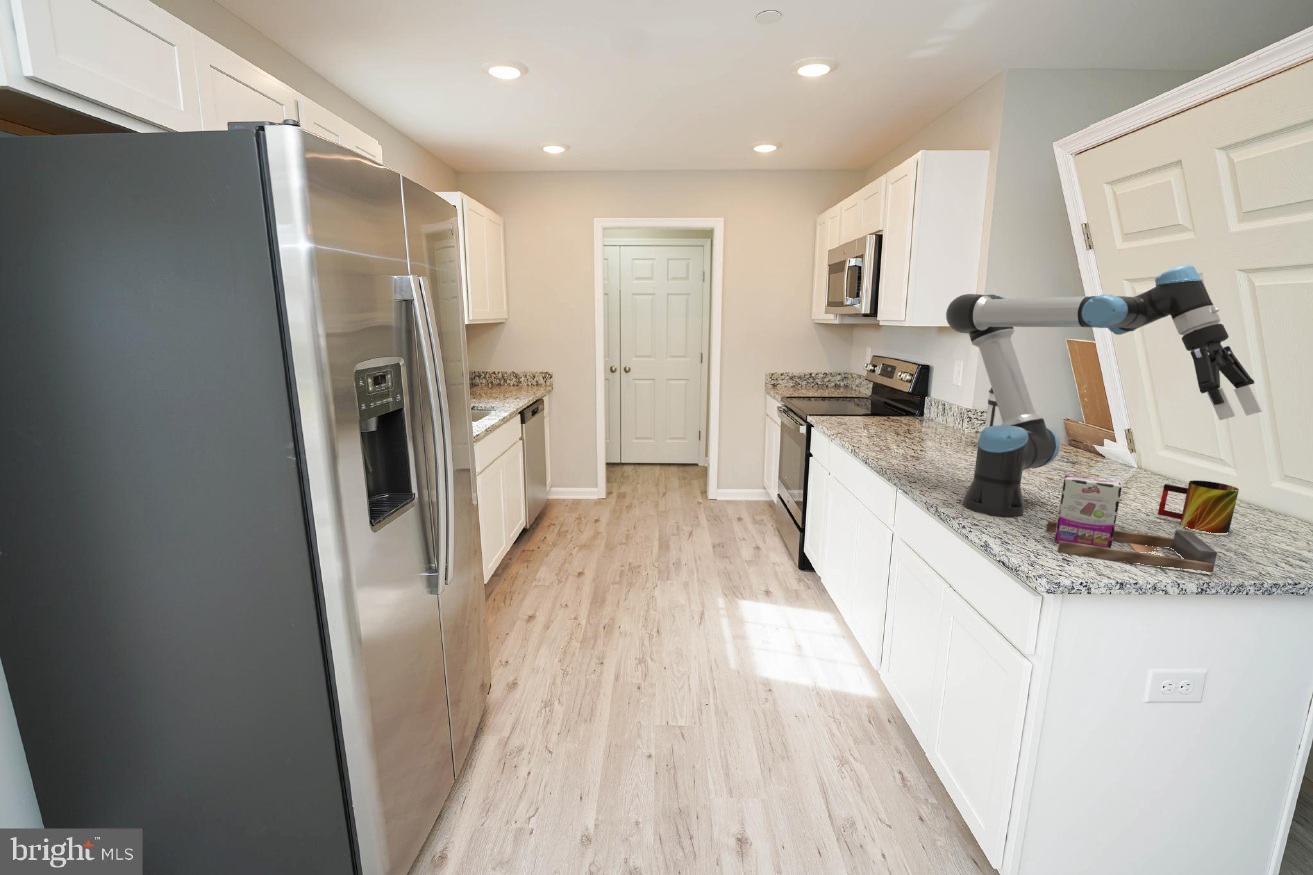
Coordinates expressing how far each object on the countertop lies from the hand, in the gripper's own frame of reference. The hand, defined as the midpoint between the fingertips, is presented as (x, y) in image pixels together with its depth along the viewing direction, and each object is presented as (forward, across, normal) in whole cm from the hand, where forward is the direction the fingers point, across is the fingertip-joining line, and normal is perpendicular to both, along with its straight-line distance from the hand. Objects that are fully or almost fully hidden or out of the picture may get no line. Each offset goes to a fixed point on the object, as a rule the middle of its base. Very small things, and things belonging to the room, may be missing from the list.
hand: (1241, 416), depth 133 cm
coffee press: (-13, +60, +95) cm, 113 cm away
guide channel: (+24, -17, +25) cm, 39 cm away
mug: (+24, +21, +26) cm, 41 cm away
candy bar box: (+21, -22, +31) cm, 43 cm away
